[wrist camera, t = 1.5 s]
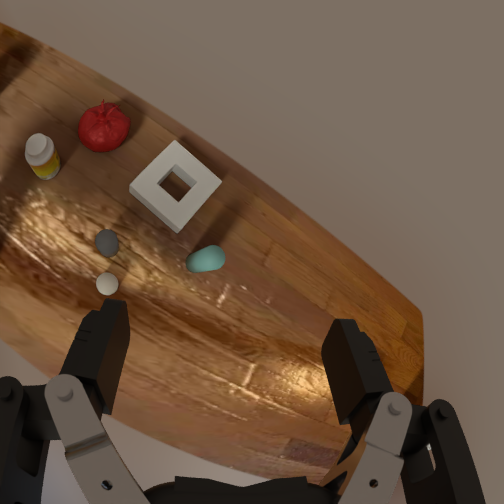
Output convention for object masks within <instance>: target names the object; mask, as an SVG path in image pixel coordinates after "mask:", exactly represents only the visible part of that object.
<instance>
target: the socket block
mask: <svg viewBox="0 0 504 504" xmlns="http://www.w3.org/2000/svg"><path fill="white" fill-rule="evenodd" d="M172 171H173V172H174V173H175V174H176V175H177V176H178V177H180V178H181V179H182V180H183V181H184V182H185V183H186V184H188V185H189V186H190V187H191V189H190V190H189V192H188V193H187V194H186V195H185V196H184V197H183V198H182V199H181V201H180V202H179V203H178V202H177V201H176V200H175V199H174V198H173V197H172V196H170V195H169V194H168V193H167V192H166V191H165V190H164V189H162V188H161V187H160V186H159V185H160V184H161V182H162V181H163V180H164V179H165V178H166V177H167V176H168V175H169V174H170V173H171V172H172ZM221 183H222V181H221V180H220V179H219V178H218V177H217V176H216V175H214V174H213V173H212V172H211V171H210V170H209V169H208V168H207V167H205V166H204V165H203V164H202V163H201V162H200V161H199V160H197V159H196V158H195V157H194V156H193V155H192V154H191V153H189V152H188V151H187V150H186V149H185V148H184V147H183V146H181V145H180V144H179V143H178V142H177V141H176V140H174V141H173V142H172V143H171V144H170V145H169V146H168V147H167V148H166V149H165V150H164V151H162V152H161V153H160V154H159V155H158V156H157V157H156V158H155V159H154V160H153V161H152V162H151V163H150V164H149V165H148V166H147V167H146V168H145V169H144V170H143V171H142V172H141V173H140V174H139V175H138V176H137V178H136V179H135V180H134V181H133V182H132V183H131V184H130V186H129V192H130V193H131V194H132V195H133V196H134V197H136V198H137V199H138V200H139V201H140V202H141V203H142V204H144V205H145V206H146V207H147V208H148V209H149V210H150V211H151V212H153V213H154V214H155V215H156V216H157V217H158V218H159V219H161V220H162V221H163V222H164V223H165V224H166V225H168V226H169V227H170V228H171V229H172V230H173V231H174V232H176V233H178V232H179V231H180V230H181V229H182V228H183V227H184V226H185V224H186V223H187V222H188V221H189V220H190V219H191V217H192V216H193V215H194V214H195V213H196V211H197V210H198V209H199V208H200V207H201V206H202V204H203V203H204V202H205V201H206V200H207V199H208V198H209V196H210V195H211V194H212V193H213V192H214V191H215V190H216V188H217V187H218V186H219V185H220V184H221Z"/></svg>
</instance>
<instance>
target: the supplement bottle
mask: <svg viewBox="0 0 504 504" xmlns="http://www.w3.org/2000/svg"><path fill="white" fill-rule="evenodd" d="M25 158H26V160H27V162H28V163H29V165H30V166H31V168H32V169H33V171H34V172H35V174H36V175H37V176H38V177H39V178H40V179H43V180H48V179H51V178H53V177H54V176H55V175H56V174H57V173H58V171H59V169H60V166H61V161H60V158H59V155H58V153H57V151H56V148H55V146H54V143H53V141H52V140H51V139H50V138H49V137H48V136H44V135H43V134H41V133H37V134H34V135H32V136H31V137H30V138H29V139H28V141H27V143H26V150H25Z"/></svg>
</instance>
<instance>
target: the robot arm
mask: <svg viewBox="0 0 504 504" xmlns="http://www.w3.org/2000/svg"><path fill="white" fill-rule="evenodd" d="M129 341H130V325H129V318H128V311H127V304H126V301H122V300H116V299H109V298H106V299H105V301H104V303H103V305H102V307H101V310H100V311H97V310H92V311H91V312H89V313H88V314H87V315H86V316H85V317H84V318H83V320H82V322H81V324H80V326H79V329H78V331H77V333H76V335H75V339H74V340H73V342H72V345H71V347H70V349H69V352H68V354H67V357H66V359H65V362H64V364H63V367H62V369H61V371H60V373H59V375H57V376H55V377H53V378H52V379H51V380H50V381H49V382H48V383H47V384H45V385H38V386H37V385H36V386H22V385H21V383H20V382H19V381H18V380H17V379H16V378H14V377H10V376H5V377H2V378H0V504H41V493H42V486H43V479H44V472H45V466H46V460H47V454H48V449H49V444H50V440H62V443H63V445H64V447H65V451H66V452H65V457H66V460H67V462H68V464H69V466H70V469H71V471H72V473H73V475H74V477H75V479H76V480H77V482H78V484H79V486H80V488H81V490H82V492H83V493H84V495H85V497H86V499H87V500H88V502H89V504H388V503H389V500H390V498H391V496H392V493H393V491H394V488H395V486H396V483H397V481H398V478H399V475H401V479H402V483H403V489H404V493H405V498H406V503H407V504H486V503H485V499H484V495H483V492H482V488H481V485H480V481H479V478H478V475H477V471H476V468H475V465H474V462H473V459H472V456H471V453H470V450H469V447H468V444H467V442H466V439H465V436H464V433H463V430H462V428H461V426H460V423H459V420H458V417H457V415H456V412H455V410H454V408H453V407H452V406H451V404H450V403H449V402H447V401H445V400H442V399H437V400H434V401H433V402H432V403H431V404H430V405H429V406H428V407H425V406H419V405H413V404H410V402H409V400H408V399H407V398H406V397H405V396H403V395H402V394H400V393H397V392H394V391H393V388H392V386H391V384H390V381H389V379H388V376H387V374H386V371H385V369H384V367H383V364H382V362H381V361H380V357H379V355H378V353H377V350H376V348H375V346H374V343H373V341H372V340H371V339H370V338H369V337H368V336H367V334H366V333H365V332H360V330H359V328H358V326H357V323H356V321H355V320H354V319H335V320H334V321H333V323H332V325H331V327H330V330H329V332H328V334H327V336H326V338H325V340H324V342H323V345H322V350H321V356H322V360H323V364H324V368H325V371H326V375H327V379H328V382H329V386H330V390H331V393H332V397H333V401H334V405H335V408H336V412H337V416H338V420H339V424H340V425H344V424H350V426H351V430H352V431H351V432H350V434H349V436H348V438H347V440H346V442H345V444H344V446H343V447H342V449H341V451H340V453H339V455H338V457H337V459H336V461H335V462H334V464H333V466H332V468H331V469H330V471H329V472H328V473H327V474H326V475H325V476H324V478H323V479H322V480H321V482H320V483H319V485H316V484H312V483H308V482H307V479H306V476H303V477H292V478H279V479H273V480H269V481H266V482H262V483H258V484H254V485H250V486H246V487H239V486H234V485H230V484H226V483H222V482H219V481H215V480H211V479H205V478H191V477H190V478H189V477H179V476H175V482H167V483H163V484H159V485H156V486H153V487H152V488H150V489H147V490H146V491H144V492H143V490H142V489H141V487H140V486H139V484H138V483H137V482H136V480H135V479H134V477H133V476H132V474H131V473H130V471H129V470H128V468H127V466H126V465H125V464H124V462H123V460H122V458H121V457H120V455H119V453H118V452H117V450H116V448H115V447H114V445H113V443H112V441H111V440H110V438H109V436H108V434H107V432H106V430H105V429H104V427H103V425H102V423H101V417H102V413H104V414H108V415H111V413H112V409H113V404H114V400H115V396H116V392H117V388H118V383H119V379H120V376H121V372H122V368H123V364H124V360H125V357H126V353H127V349H128V346H129ZM429 444H430V447H431V450H432V453H433V457H434V460H435V464H436V468H435V471H434V469H433V465H432V462H431V458H430V455H429V451H428V448H427V445H429Z"/></svg>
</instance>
